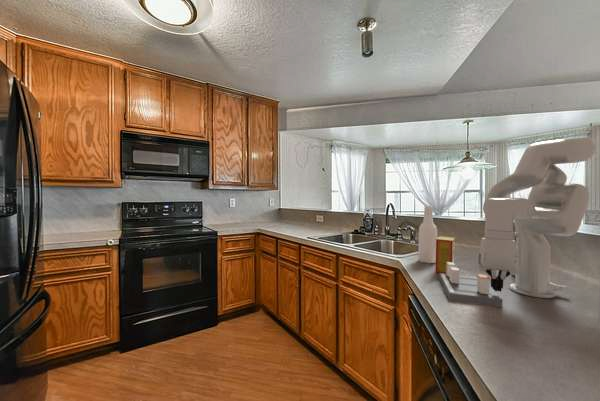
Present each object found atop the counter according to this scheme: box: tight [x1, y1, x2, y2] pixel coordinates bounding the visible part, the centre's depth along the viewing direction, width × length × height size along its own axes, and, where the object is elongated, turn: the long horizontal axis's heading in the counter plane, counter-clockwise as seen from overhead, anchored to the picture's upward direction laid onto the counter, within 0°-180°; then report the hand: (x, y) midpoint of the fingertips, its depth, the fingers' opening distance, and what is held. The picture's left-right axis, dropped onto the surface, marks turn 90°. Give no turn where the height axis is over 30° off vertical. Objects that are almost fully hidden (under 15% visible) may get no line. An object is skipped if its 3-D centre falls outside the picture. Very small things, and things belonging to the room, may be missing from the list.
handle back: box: [446, 262, 456, 277], centre depth 107 cm, size 2×4×5 cm, turn 159°
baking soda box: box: [435, 236, 456, 274], centre depth 123 cm, size 10×6×16 cm
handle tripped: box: [476, 273, 491, 294], centre depth 90 cm, size 2×4×5 cm, turn 159°
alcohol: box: [417, 205, 438, 264], centre depth 141 cm, size 9×9×30 cm
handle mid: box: [450, 266, 461, 284], centre depth 100 cm, size 2×4×5 cm, turn 159°
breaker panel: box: [438, 273, 504, 308], centre depth 98 cm, size 15×24×3 cm, turn 159°
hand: (496, 289), depth 88 cm, fingers closed
